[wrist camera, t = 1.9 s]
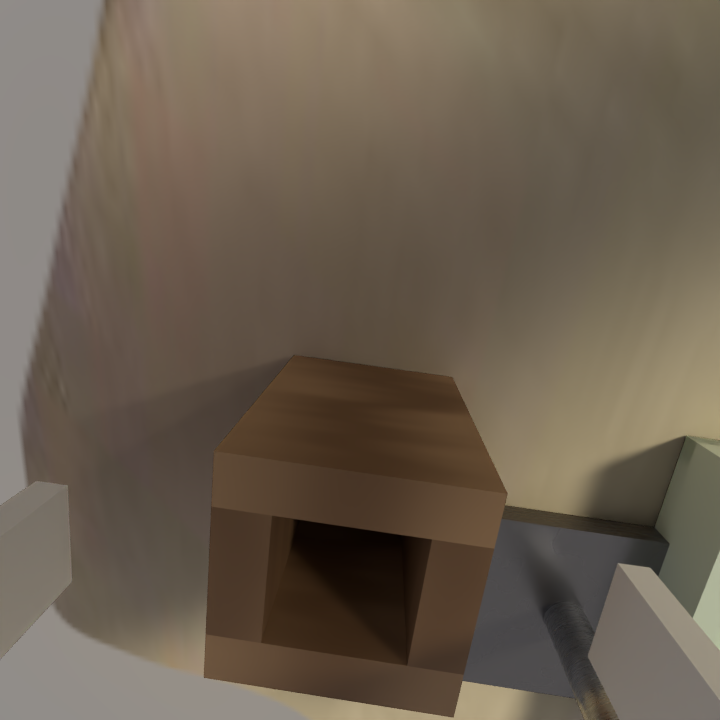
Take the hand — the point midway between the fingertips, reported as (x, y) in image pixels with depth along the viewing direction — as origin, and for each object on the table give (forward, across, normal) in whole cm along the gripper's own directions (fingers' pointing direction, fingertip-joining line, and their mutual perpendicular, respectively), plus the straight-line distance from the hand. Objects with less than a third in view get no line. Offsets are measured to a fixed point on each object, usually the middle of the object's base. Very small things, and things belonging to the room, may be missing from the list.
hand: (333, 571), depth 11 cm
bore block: (+7, 0, 0) cm, 7 cm away
